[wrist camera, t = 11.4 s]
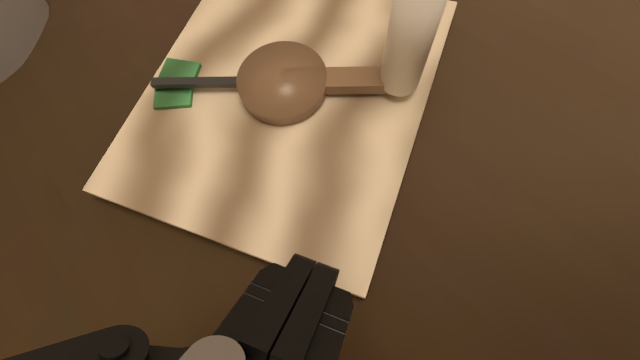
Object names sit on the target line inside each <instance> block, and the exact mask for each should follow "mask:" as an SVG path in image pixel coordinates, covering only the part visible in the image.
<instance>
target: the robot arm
mask: <svg viewBox="0 0 640 360" xmlns="http://www.w3.org/2000/svg"><path fill="white" fill-rule="evenodd" d="M339 271H340V270H339V269H336V268H334V267H331V266H329V265H326V264H323V263H321V262H318V263H317V261H315V260H312V259H310V258H307V257H304V256H302V255H299V254H297V253H295V254H294V255H293V256H292V258H291V259H290V261H289V263H288V264H287V266H286V267H284V266H281V265H279V264H276V263H272V264H270V265H269V266H267V267H265V268H263V269H262V270H260V271H259V273H258V274H257V276H256V277H255V278H254V280H253V281H252V283H251V284H250V285H249V286H248V288H247V289H246V291H245V293H244V294H243V295H242V296H241V297H240V299H239V300H238V301H237V303H236V304H235V306H234V307H233V308H232V310H231V311H230V312H229V314H228V315H227V316H226V318H225V319H224V320H223V322H222V323H221V325H220V326H219V327H218V329H217V330H216V331H215V332H214V334H213V335H212V336H208V337H205V338H202V339H200V340H198V341H197V342H195V343H194V344H193V345H192V346H190V347H185V348H173V347H162V346H152V345H149V339H148V337H147V335H146V333H145V332H144V331H142V330H141V329H139V328H138V327H135V326H130V325H117V326H112V327H109V328H105V329H102V330H99V331H95V332H92V333H89V334H85V335H82V336H79V337H75V338H72V339H69V340H65V341H62V342H59V343H55V344H52V345H49V346H46V347H42V348H39V349H36V350H32V351H29V352H26V353H22V354H19V355H16V356H12V357H9V358H6V359H2V360H338V356H339V353H340V350H341V346H342V343H343V340H344V336H345V333H346V329H347V326H348V323H349V319H350V316H351V313H352V309H353V303H352V298H351V293H350V292H349V291H346V290H343V289H341V288H338V287H336V286H335V285H336V281H337V278H338V275H339Z"/></svg>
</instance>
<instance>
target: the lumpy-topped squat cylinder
mask: <svg viewBox="0 0 640 360" xmlns="http://www.w3.org/2000/svg"><path fill="white" fill-rule="evenodd" d="M48 16H49V7H48V4H47V2H46V1H45V0H0V83H1V82H3V81H4V80H5V79H7V78H8V77H9V76H11V75H12V74H13V73H14V72H15V71H17V70H18V69H19V68H20V67H21V66H22V65H23V64H24V62H25V61H26V59H27V58H28V56H29V55H30V53H31V52H32V50H33V48H34V47H35V45H36V43H37V41H38V40H39V38H40V36H41V33H42V31H43V29H44V26H45V24H46V22H47V19H48Z"/></svg>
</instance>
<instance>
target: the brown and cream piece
mask: <svg viewBox="0 0 640 360" xmlns="http://www.w3.org/2000/svg"><path fill="white" fill-rule="evenodd" d="M446 3H447V0H392V5H391V11H390V17H389V23H388V29H387V35H386V41H385V47H384V53H383V60H382V66H363V67H326V66H325V64H324V62H323V60H322V58H321V57H320V56H319V54H318V53H317V52H315V51H314V50H313V49H312V48H310V47H308V46H306V45H304V44H301V43H298V42H293V41H278V42H272V43H269V44H266V45H263V46H261V47H259V48H257V49H256V50H254V51H253V52H252V53H251V54H249V55H248V56H247V57H246V59H245V60H244V61H243V62H242V64H241V66H240V68H239V70H238V73H237V76H229V77H152V78H151V83H150V85H151V87H152V88H153V89H158V88H237V91H238V94H239V96H240V98H241V100H242V102H243V104H244V106H245V108H246V109H247V111H248V112H249V113H250V114H251V115H252V116H254V117H255V118H257V119H258V120H260V121H262V122H265V123H268V124H273V125H289V124H294V123H297V122H300V121H302V120H304V119H306V118H308V117H309V116H311V115H312V114H313V113H314V112H316V111H317V110H318V108H319V107H320V106H321V104H322V103H323V101H324V99H325V97H326V94H390V95H393V96H397V97H403V96H407V95H410V94H412V93H413V92H414V91H415V90H416V89H417V87H418V85H419V82H420V79H421V76H422V73H423V70H424V67H425V64H426V62H427V59H428V56H429V53H430V50H431V47H432V44H433V41H434V38H435V35H436V32H437V29H438V27H439V24H440V21H441V18H442V15H443V12H444V9H445V6H446Z"/></svg>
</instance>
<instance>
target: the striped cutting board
mask: <svg viewBox="0 0 640 360" xmlns="http://www.w3.org/2000/svg"><path fill="white" fill-rule="evenodd" d="M391 5H392V0H202V1H201V2H200V4H199V5H198V7H197V9H196V10H195V12H194V13H193V15H192V17H191V18H190V20H189V21H188V23H187V25H186V26H185V28H184V29H183V31H182V32H181V34H180V36H179V37H178V39H177V40H176V42H175V44H174V45H173V47H172V48H171V50H170V52H169V53H168V55H167V56H166V58H165V59H164V61H163V63H162V64H161V66H160V67H159V69H158V71H157V72H156V74H155V75H154V77H229V76H237V73H238V70H239V68H240V66H241V64H242V62H243V61H244V60H245V59H246V57H247V56H248V55H249V54H251V53H252V52H253V51H254V50H256V49H257V48H259V47H261V46H263V45H266V44H269V43H272V42H278V41H293V42H298V43H301V44H304V45H306V46H308V47H310V48H312V49H313V50H314V51H315V52H317V53H318V54H319V56H320V57H321V58H322V60H323V62H324V64H325V66H326V67H363V66H382V60H383V53H384V47H385V41H386V35H387V29H388V23H389V17H390V11H391ZM456 5H457V2H453V1H449V0H447V3H446V6H445V9H444V12H443V15H442V18H441V21H440V24H439V27H438V29H437V32H436V35H435V38H434V41H433V44H432V47H431V50H430V53H429V56H428V59H427V62H426V64H425V67H424V70H423V73H422V76H421V79H420V82H419V85H418V87H417V89H416V90H415V91H414V92H413V93H412V94H410V95H407V96H403V97H397V96H393V95H390V94H326V97H325V99H324V101H323V103H322V104H321V106H320V107H319V108H318V110H317V111H316V112H314V113H313V114H312V115H311V116H309V117H308V118H306V119H304V120H302V121H300V122H297V123H294V124H289V125H273V124H268V123H265V122H262V121H260V120H258V119H257V118H255V117H254V116H252V115H251V114H250V113H249V112H248V111H247V109H246V108H245V106H244V104H243V102H242V100H241V98H240V96H239V94H238V91H237V88H158V89H153V88H152V87H151V85H150V83H151V82H150V83H149V85H148V86H147V88H146V90H145V91H144V93H143V94H142V96H141V98H140V99H139V101H138V102H137V104H136V105H135V107H134V109H133V110H132V112H131V113H130V115H129V117H128V118H127V120H126V121H125V123H124V125H123V126H122V128H121V129H120V131H119V132H118V134H117V136H116V137H115V139H114V140H113V142H112V144H111V145H110V147H109V148H108V150H107V151H106V153H105V155H104V156H103V158H102V159H101V161H100V163H99V164H98V166H97V167H96V169H95V171H94V172H93V174H92V175H91V177H90V178H89V180H88V182H87V183H86V185H85V186H84V188H83V191H86V192H88V193H90V194H92V195H94V196H96V197H99V198H101V199H104V200H107V201H109V202H112V203H115V204H117V205H120V206H122V207H125V208H128V209H130V210H133V211H135V212H138V213H141V214H143V215H146V216H148V217H151V218H154V219H156V220H159V221H162V222H164V223H167V224H169V225H172V226H175V227H177V228H180V229H182V230H185V231H188V232H190V233H193V234H195V235H198V236H201V237H203V238H206V239H209V240H211V241H214V242H216V243H219V244H222V245H224V246H227V247H229V248H232V249H235V250H237V251H240V252H242V253H245V254H248V255H250V256H253V257H256V258H258V259H261V260H263V261H266V262H269V263H271V264H272V263H276V264H279V265H281V266H284V267H286V266H287V264H288V263H289V261H290V259H291V258H292V256H293V255H294V254H295V253H297V254H299V255H302V256H304V257H307V258H310V259H312V260H315V261H317V263H318V262H321V263H323V264H326V265H329V266H331V267H334V268H336V269H339V270H340V271H339V275H338V278H337V281H336V285H335V286H336V287H338V288H341V289H343V290H346V291H349V292H350V293H351V294H352V295H355V296H357V297H360V298H363V299H365V298H366V295H367V291H368V288H369V285H370V282H371V279H372V275H373V272H374V269H375V266H376V262H377V259H378V256H379V253H380V250H381V246H382V243H383V240H384V237H385V233H386V230H387V227H388V224H389V221H390V217H391V214H392V211H393V208H394V204H395V201H396V198H397V195H398V192H399V188H400V185H401V182H402V179H403V176H404V172H405V169H406V166H407V163H408V159H409V156H410V153H411V150H412V147H413V143H414V140H415V137H416V134H417V130H418V127H419V124H420V121H421V118H422V114H423V111H424V108H425V105H426V101H427V98H428V95H429V92H430V89H431V85H432V82H433V79H434V76H435V72H436V69H437V66H438V63H439V60H440V56H441V53H442V50H443V47H444V44H445V40H446V37H447V34H448V31H449V27H450V24H451V21H452V18H453V15H454V11H455V8H456Z"/></svg>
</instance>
